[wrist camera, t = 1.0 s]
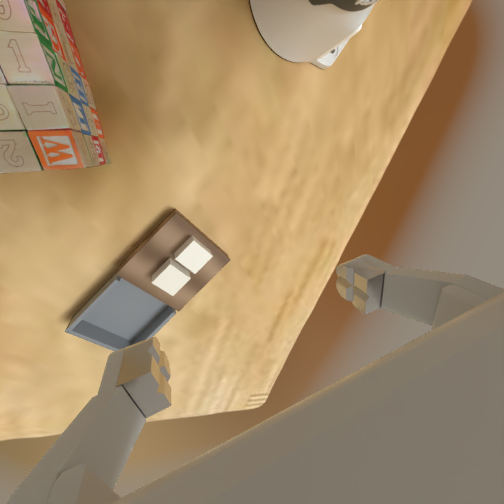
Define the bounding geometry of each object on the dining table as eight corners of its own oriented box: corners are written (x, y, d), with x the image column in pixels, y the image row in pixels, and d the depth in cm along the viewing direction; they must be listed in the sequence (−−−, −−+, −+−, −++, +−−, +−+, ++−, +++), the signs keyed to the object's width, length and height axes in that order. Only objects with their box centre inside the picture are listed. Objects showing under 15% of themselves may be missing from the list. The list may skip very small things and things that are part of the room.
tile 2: (192, 235, 35) (193, 240, 33) (210, 250, 37) (212, 256, 35) (174, 252, 35) (175, 259, 33) (193, 267, 37) (195, 274, 35)
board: (175, 208, 35) (176, 213, 33) (226, 253, 41) (230, 260, 39) (119, 265, 36) (115, 274, 33) (178, 301, 42) (178, 311, 39)
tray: (120, 269, 36) (115, 279, 33) (174, 302, 42) (175, 313, 38) (73, 316, 36) (64, 331, 33) (133, 343, 42) (131, 357, 39)
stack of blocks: (-42, -89, 20) (-287, -377, 9) (43, -72, 21) (-77, -295, 11) (58, 167, 29) (-5, 175, 18) (112, 164, 30) (84, 169, 20)
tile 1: (169, 257, 35) (170, 264, 33) (189, 271, 37) (190, 278, 35) (152, 275, 35) (151, 282, 33) (172, 288, 37) (173, 296, 35)
